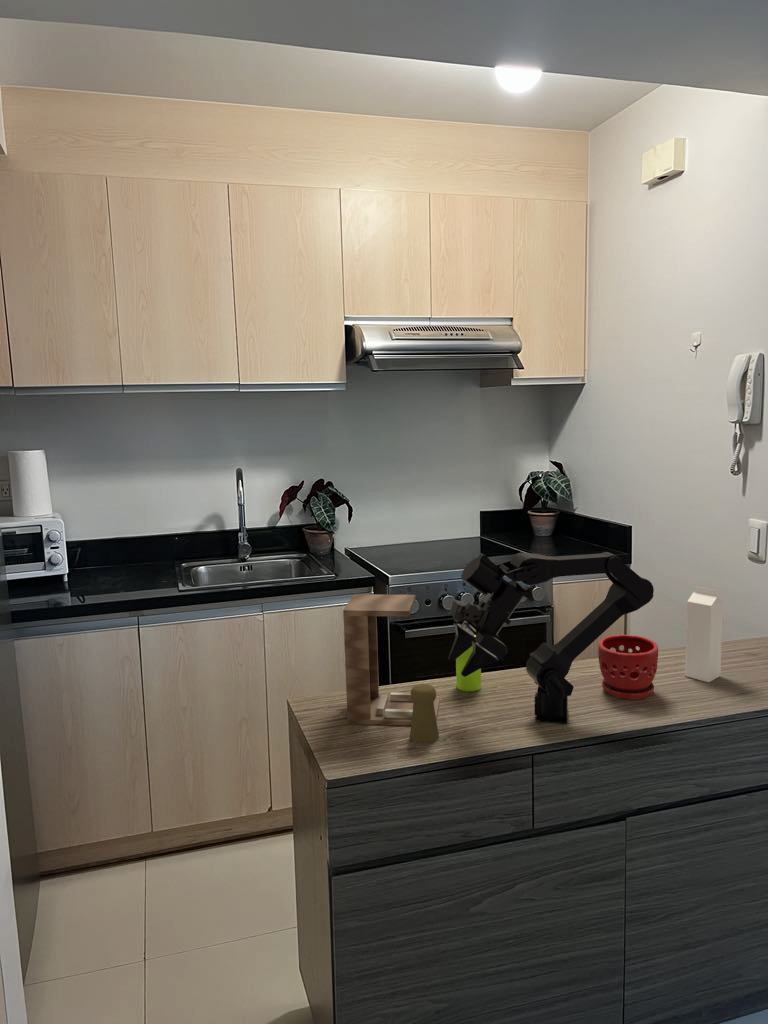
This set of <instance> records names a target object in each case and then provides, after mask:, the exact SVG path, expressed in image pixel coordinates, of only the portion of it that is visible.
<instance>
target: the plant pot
mask: <svg viewBox="0 0 768 1024" xmlns="http://www.w3.org/2000/svg"><path fill="white" fill-rule="evenodd" d="M620 646H623V647H624V648H623V649H620ZM637 647H638V648H639V650H638V649H637ZM612 648H613V649H615V651H614V650H611V649H612ZM630 650H631V652H630ZM597 652H598V653H597V654H598V663H599V669H600V673H601V675H602V677H603V679H602V681H601V687H602V689H603V690H604V691H605V692H606V693H607V694H609V695H611V696H612V697H616V698H619V699H622V700H623V699H624V700H640V699H644V698H647V697H649V696H651V695H652V694H653V692H654V690H655V685H654V683H653V681H654V680H655V677H656V674H657V670H658V661H659V646H658V644H657V642H655V641H653V640H652V639H650V638H647V637H644V636H639V635H633V634H617V635H616V634H615V635H609V636H605V637H603V638H601V640H599V641H598V651H597Z"/></svg>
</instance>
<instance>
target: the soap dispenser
mask: <svg viewBox="0 0 768 1024" xmlns="http://www.w3.org/2000/svg"><path fill="white" fill-rule="evenodd" d="M473 636H475V637H476V635H475V634H474V635H473ZM476 644H478V643H477V642H476ZM478 645H479V644H478ZM472 651H473V647H472V646H471V647H470V648H469V649H468V650H467V651H465V652H464V653H463V654H462V655H460V656H459V657H458V658H457V659H455V669H456V670H455V672H456V673H455V677H456V683H455V684H456V689H458V690H459V691H461V692H475V691H480V690H481V688H482V668H480V669H479V670H477V671H475V672H473V673H471V674H470V675H468V676H466V677H464V676H463V675H461V672H462V670H463V668H464V666H465V664H466V662H467V661H468V659H469V657H470V655H471V653H472Z"/></svg>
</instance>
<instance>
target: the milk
mask: <svg viewBox="0 0 768 1024" xmlns="http://www.w3.org/2000/svg"><path fill="white" fill-rule="evenodd" d="M686 604H687V605H686V632H685V633H686V634H685V635H686V636H685V637H686V638H685V658H684V659H685V663H684V666H685V667H684V676H685V677H687V678H690V679H695V680H698V681H702V682H705V683H710V682H712V681H714V680H715V679H717V678H719V677H721V668H722V644H723V642H722V641H723V618H724V615H723V614H724V600H723V599H722V598H721V597H719V590H717V589H712V588H707V587H704V586H703V587H701V586H696V585H694V587H693V592H692V593H691V595H690V596H689V598H688V600H687V603H686Z"/></svg>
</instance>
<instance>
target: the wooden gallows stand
mask: <svg viewBox="0 0 768 1024" xmlns="http://www.w3.org/2000/svg"><path fill="white" fill-rule="evenodd" d="M415 602H416V594H382V593H381V594H378V593H377V594H372V593H371V594H370V593H369V594H365V593H360V594H359V593H358V594H357V593H356V594H353V595H352V597H351V598H350V600H349V601H348V603H347V604H346V606H345V607H344V608H343V611H342V613H343V614H342V615H343V639H344V662H345V663H344V664H345V686H346V688H345V690H346V716H347V724H349V725H351V724H353V725H377V724H390V725H389V726H409V725H411V721H412V712H413V703H414V702H413V701H412V699H411V692H390V694H388V693H385V694H384V693H382V694H381V695H380V683H379V682H380V681H379V655H378V654H379V653H378V651H379V649H378V647H379V646H378V622H377V617H398V618H399V617H403V618H404V617H407V618H408V617H411V613H412V611H413V608H414V606H415V604H416V603H415ZM389 695H390V696H389ZM440 703H441V701H440V697H436V698H435V700H434V708H435V715H436V721H438V720H437V719H438V715H439V709H440ZM391 724H393V725H391Z"/></svg>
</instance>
